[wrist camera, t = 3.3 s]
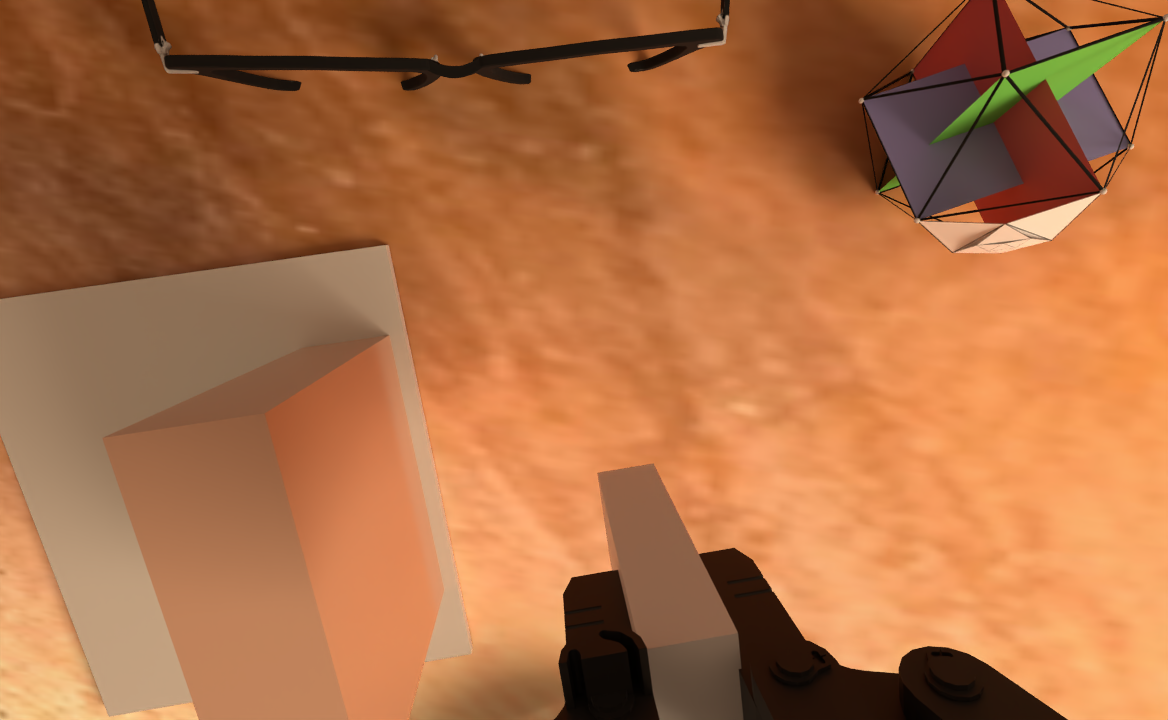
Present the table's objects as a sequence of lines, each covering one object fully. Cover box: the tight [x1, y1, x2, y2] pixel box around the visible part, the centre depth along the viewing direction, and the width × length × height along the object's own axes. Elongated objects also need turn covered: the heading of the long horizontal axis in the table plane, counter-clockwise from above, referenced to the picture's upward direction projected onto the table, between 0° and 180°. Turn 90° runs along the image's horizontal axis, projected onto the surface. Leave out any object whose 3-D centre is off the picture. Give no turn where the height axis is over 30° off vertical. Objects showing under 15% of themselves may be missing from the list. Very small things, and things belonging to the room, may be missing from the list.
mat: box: [0, 245, 473, 716], centre depth 20 cm, size 16×14×1 cm
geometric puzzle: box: [859, 0, 1168, 253], centre depth 17 cm, size 7×7×8 cm
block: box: [102, 335, 445, 720], centre depth 16 cm, size 10×3×9 cm, turn 8°
